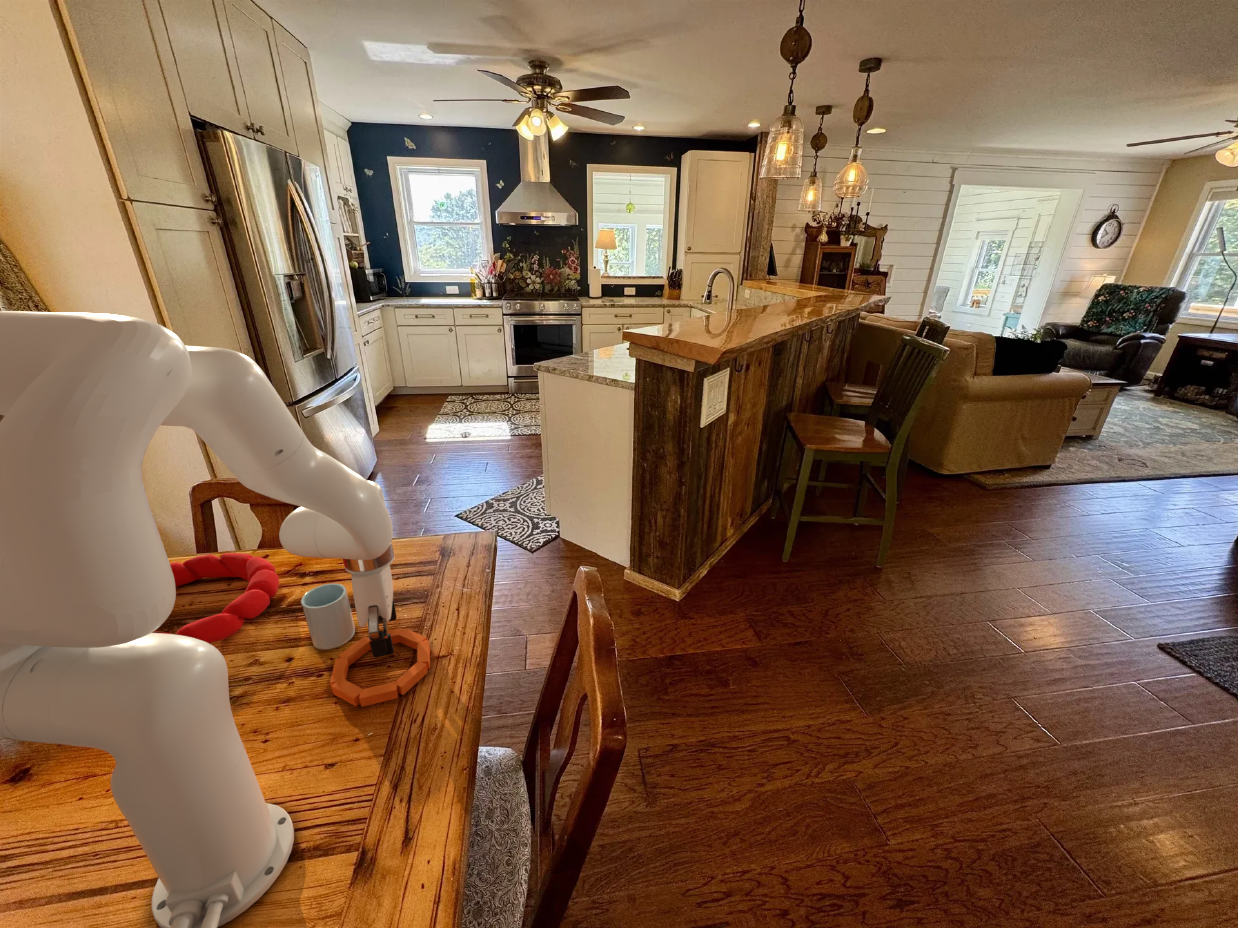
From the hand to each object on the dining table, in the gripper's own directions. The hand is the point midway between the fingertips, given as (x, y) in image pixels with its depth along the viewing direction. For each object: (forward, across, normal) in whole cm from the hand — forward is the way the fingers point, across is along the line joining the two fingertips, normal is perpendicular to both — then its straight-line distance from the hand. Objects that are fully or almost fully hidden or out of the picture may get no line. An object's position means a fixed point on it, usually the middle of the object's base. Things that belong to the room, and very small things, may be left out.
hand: (385, 636), depth 88 cm
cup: (+1, -4, -9) cm, 10 cm away
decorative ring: (+1, -20, -36) cm, 41 cm away
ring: (+1, +6, 0) cm, 7 cm away
